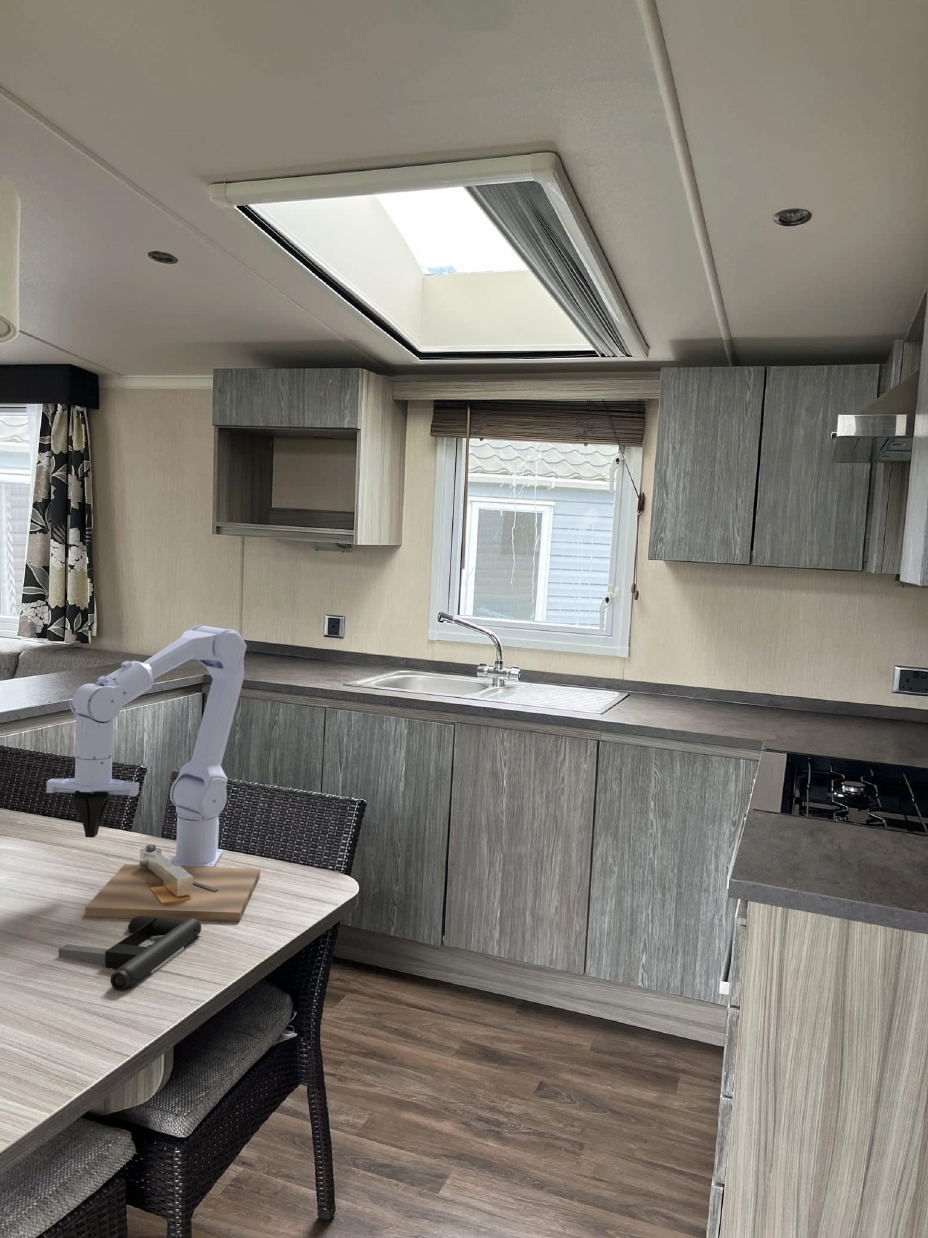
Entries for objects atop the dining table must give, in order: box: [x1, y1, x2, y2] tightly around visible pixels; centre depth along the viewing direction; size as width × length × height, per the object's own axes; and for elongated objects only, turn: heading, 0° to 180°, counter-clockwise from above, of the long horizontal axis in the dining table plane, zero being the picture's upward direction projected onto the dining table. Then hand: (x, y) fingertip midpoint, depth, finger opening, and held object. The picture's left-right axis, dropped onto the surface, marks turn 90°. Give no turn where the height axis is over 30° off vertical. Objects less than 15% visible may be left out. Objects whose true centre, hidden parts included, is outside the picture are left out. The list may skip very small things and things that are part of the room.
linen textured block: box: [138, 844, 193, 897], centre depth 156 cm, size 18×4×4 cm, turn 38°
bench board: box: [84, 863, 261, 923], centre depth 154 cm, size 20×24×2 cm
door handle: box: [58, 916, 202, 992], centre depth 132 cm, size 3×20×16 cm
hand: (91, 835), depth 154 cm, fingers closed
